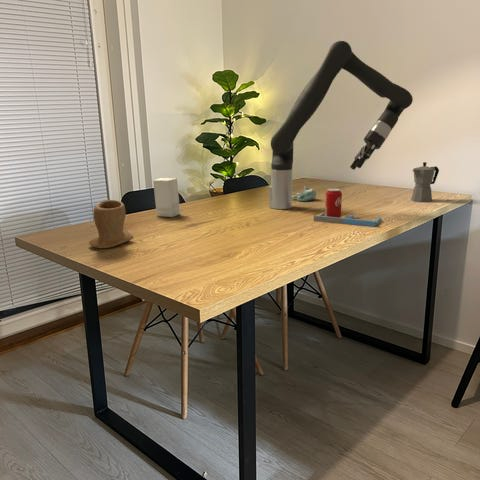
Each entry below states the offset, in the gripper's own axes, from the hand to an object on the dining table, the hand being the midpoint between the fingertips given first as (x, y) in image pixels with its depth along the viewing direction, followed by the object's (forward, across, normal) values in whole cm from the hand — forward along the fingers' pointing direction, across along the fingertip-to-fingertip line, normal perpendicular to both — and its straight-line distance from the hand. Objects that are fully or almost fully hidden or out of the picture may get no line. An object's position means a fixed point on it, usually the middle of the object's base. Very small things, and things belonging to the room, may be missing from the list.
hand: (354, 167), depth 192 cm
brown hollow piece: (+75, +34, -58) cm, 101 cm away
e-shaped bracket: (+20, +8, +8) cm, 23 cm away
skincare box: (+60, -8, -53) cm, 81 cm away
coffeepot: (-12, -28, +41) cm, 51 cm away
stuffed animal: (+19, -35, -5) cm, 41 cm away
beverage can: (+23, +5, +4) cm, 24 cm away
